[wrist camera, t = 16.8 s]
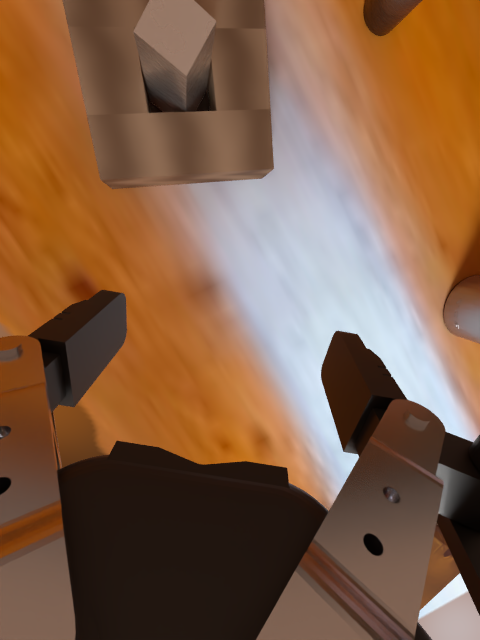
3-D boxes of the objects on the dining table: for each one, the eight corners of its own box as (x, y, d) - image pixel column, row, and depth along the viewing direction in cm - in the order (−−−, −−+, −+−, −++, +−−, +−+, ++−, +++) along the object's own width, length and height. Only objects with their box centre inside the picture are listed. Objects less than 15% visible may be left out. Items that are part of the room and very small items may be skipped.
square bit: (205, 93, 29) (216, 21, 20) (185, 129, 30) (186, 76, 20) (170, 63, 28) (163, -28, 19) (150, 101, 29) (133, 31, 19)
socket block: (249, -3, 28) (261, -47, 24) (261, 178, 32) (273, 168, 28) (72, -8, 25) (50, -59, 21) (112, 188, 30) (100, 180, 26)
